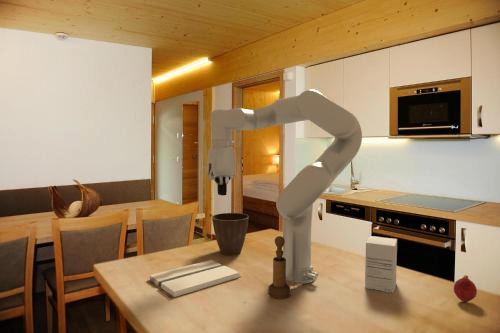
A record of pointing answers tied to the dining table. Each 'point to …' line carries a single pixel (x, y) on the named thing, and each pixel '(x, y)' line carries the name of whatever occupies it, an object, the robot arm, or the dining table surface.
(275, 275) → the mortar and pestle
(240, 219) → the plant pot
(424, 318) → the dining table surface
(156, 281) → the white grooved board
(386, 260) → the supplement box
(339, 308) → the dining table surface
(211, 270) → the pale plank
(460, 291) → the onion
